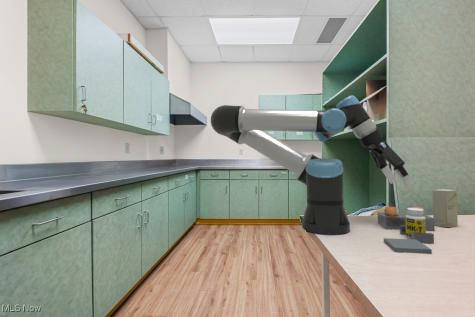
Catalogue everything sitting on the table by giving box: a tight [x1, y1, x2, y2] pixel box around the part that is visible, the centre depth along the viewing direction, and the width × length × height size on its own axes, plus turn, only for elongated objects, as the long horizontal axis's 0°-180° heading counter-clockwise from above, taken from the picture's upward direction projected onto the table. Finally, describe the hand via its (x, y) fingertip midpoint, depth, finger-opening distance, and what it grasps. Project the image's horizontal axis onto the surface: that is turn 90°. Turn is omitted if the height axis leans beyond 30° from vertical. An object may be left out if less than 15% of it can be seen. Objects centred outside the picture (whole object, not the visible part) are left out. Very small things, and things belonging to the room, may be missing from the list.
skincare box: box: [431, 188, 459, 228], centre depth 87 cm, size 6×4×12 cm
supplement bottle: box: [405, 207, 427, 239], centre depth 74 cm, size 5×5×8 cm
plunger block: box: [377, 211, 436, 232], centre depth 86 cm, size 14×8×4 cm, turn 78°
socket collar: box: [399, 225, 435, 245], centre depth 74 cm, size 9×5×2 cm, turn 168°
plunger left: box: [385, 206, 397, 216], centre depth 87 cm, size 3×3×4 cm
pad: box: [383, 237, 433, 255], centre depth 66 cm, size 8×8×1 cm
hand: (401, 183), depth 92 cm, fingers open, 13 cm apart
